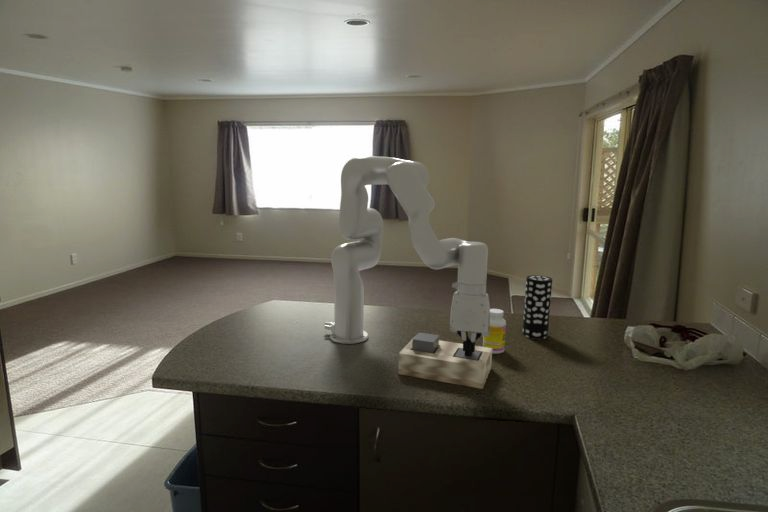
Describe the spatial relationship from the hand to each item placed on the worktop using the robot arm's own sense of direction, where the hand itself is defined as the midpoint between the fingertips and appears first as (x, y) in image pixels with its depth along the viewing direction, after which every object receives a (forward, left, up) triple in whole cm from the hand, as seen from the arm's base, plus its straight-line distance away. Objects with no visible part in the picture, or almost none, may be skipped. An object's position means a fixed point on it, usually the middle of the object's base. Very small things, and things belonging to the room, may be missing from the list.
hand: (468, 353), depth 130 cm
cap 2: (0, 0, -4) cm, 4 cm away
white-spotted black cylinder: (+15, +41, -6) cm, 44 cm away
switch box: (-6, 0, -6) cm, 9 cm away
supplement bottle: (+4, +21, -6) cm, 22 cm away
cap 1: (-12, 0, -1) cm, 12 cm away
